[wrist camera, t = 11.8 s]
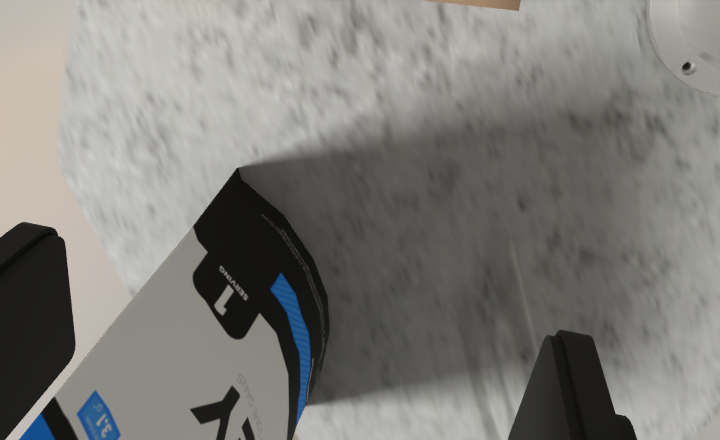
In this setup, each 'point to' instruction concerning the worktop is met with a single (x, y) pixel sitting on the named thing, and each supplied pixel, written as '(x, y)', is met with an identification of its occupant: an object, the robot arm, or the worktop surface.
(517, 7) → the storage box
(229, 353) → the protein powder
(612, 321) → the worktop surface
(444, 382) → the worktop surface
